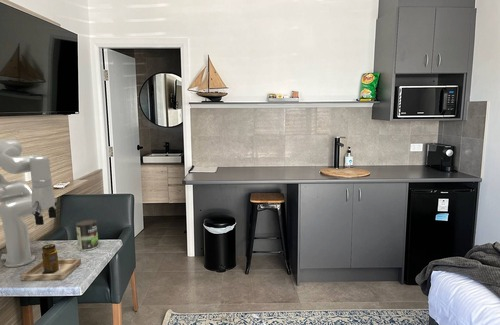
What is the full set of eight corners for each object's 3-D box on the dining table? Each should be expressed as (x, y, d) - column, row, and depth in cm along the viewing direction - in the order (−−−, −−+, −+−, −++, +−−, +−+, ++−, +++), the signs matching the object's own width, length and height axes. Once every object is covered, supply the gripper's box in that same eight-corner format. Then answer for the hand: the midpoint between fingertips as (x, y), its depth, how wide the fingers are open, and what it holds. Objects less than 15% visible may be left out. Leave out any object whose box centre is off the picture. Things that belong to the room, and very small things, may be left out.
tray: (21, 281, 150) (20, 275, 149) (43, 264, 166) (42, 259, 166) (62, 280, 150) (62, 274, 149) (81, 263, 166) (80, 258, 165)
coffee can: (103, 244, 190) (100, 219, 188) (89, 251, 180) (87, 225, 178) (87, 242, 193) (85, 218, 191) (73, 250, 183) (70, 224, 181)
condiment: (59, 266, 162) (57, 241, 161) (60, 273, 155) (57, 247, 153) (42, 270, 159) (38, 245, 157) (42, 277, 152) (38, 251, 150)
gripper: (45, 180, 160) (49, 215, 163) (20, 188, 143) (25, 227, 146) (61, 179, 160) (65, 215, 163) (38, 188, 143) (43, 227, 146)
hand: (46, 221), depth 154 cm, fingers open, 9 cm apart
